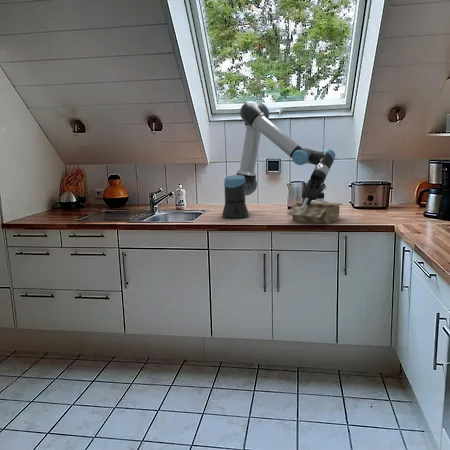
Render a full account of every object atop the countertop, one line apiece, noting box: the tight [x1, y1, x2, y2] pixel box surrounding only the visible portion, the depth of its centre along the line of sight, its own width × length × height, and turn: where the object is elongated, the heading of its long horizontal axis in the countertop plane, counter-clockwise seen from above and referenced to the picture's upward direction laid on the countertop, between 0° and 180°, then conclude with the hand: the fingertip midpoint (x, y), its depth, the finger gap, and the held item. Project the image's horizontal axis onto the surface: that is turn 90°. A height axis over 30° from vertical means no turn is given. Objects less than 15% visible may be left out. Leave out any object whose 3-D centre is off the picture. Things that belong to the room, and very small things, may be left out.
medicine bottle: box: [312, 191, 328, 203], centre depth 262 cm, size 7×7×12 cm
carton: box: [291, 201, 344, 225], centre depth 241 cm, size 22×19×8 cm
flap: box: [286, 206, 326, 218], centre depth 231 cm, size 19×1×7 cm
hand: (303, 209), depth 229 cm, fingers closed
